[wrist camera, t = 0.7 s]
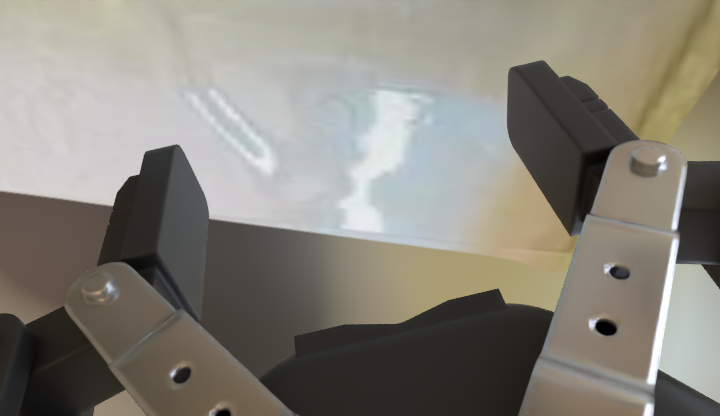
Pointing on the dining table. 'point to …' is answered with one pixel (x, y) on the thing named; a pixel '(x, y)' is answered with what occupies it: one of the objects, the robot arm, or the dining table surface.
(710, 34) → the dining table surface
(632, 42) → the dining table surface
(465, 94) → the dining table surface
